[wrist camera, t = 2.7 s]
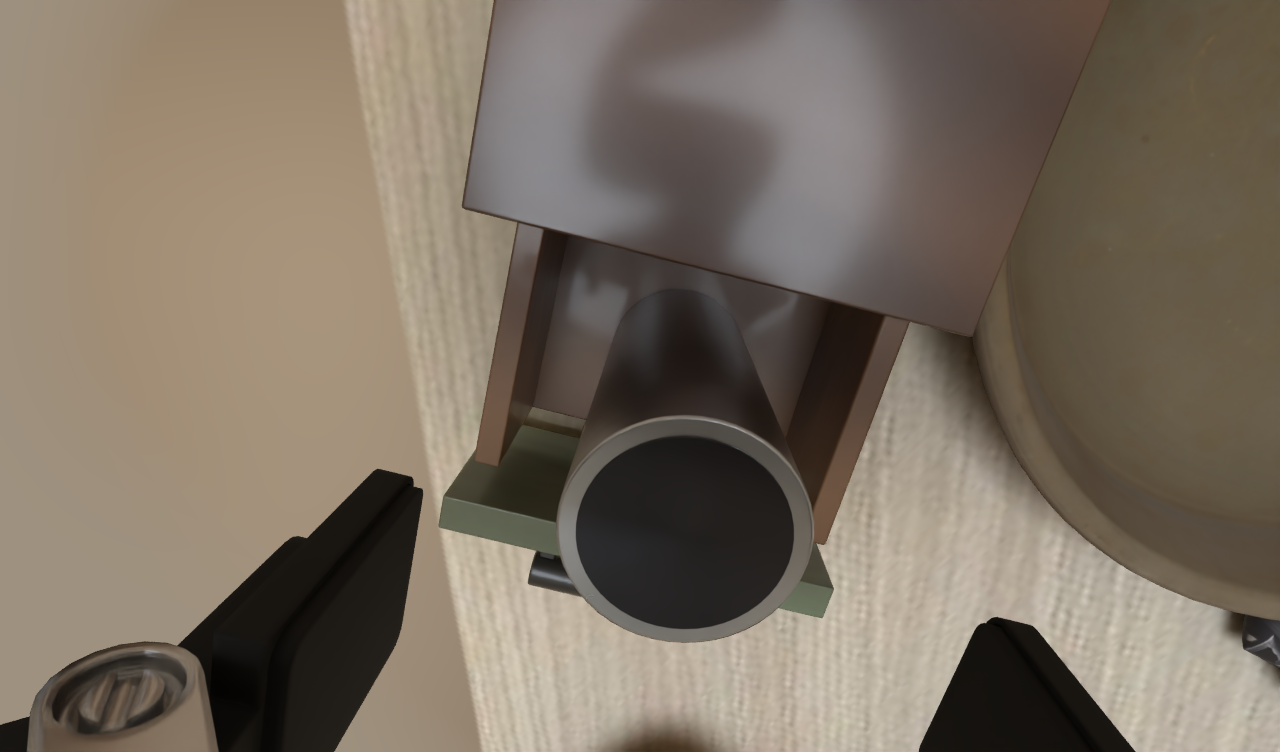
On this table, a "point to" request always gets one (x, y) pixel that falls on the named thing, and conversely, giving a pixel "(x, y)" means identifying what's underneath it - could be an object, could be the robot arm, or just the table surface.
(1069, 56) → the cabinet
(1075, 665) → the table surface
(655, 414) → the cylindrical container
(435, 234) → the table surface
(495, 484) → the drawer
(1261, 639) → the striped fish figurine
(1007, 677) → the robot arm
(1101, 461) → the plant saucer
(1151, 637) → the table surface
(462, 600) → the table surface
